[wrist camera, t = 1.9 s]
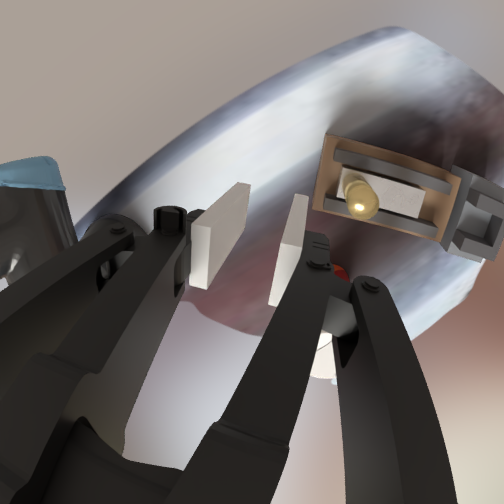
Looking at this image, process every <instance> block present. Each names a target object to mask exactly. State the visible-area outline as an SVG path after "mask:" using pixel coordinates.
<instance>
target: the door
mask: <svg viewBox="0 0 504 504" xmlns="http://www.w3.org/2000/svg"><path fill="white" fill-rule="evenodd" d="M341 165H345V166H349V167H353V168H357V169H361V170H365V171H368V172H372V173H376V174H379V175H383V176H386V177H390V178H393V179H396V180H400V181H403V182H406V183H409V184H412V185H416V186H419V187H421V188H422V189H423V190H425V191H426V193H425V196H424V199H423V203H422V206H421V209H420V212H419V215H418V218H414V217H411V216H407V215H404V214H400V213H397V212H393V211H390V210H386V209H382V208H379V209H378V211H377V213H376V214H375V215H374V216H373V217H372V218H370V219H366V220H360V219H357V218H355V217H354V216H352V215H351V213H350V212H349V210H348V207H347V203H346V200H345V199H343V198H339V197H336V188H337V183H338V179H339V174H340V170H341ZM460 182H461V178H460V177H458V176H456V175H454V174H452V173H451V172H449V171H447V170H445V169H443V168H440V167H438V166H435V165H432V164H430V163H427V162H424V161H421V160H418V159H415V158H412V157H409V156H406V155H403V154H400V153H397V152H394V151H391V150H387V149H384V148H380V147H377V146H373V145H370V144H366V143H363V142H359V141H355V140H351V139H347V138H343V137H339V136H335V135H330V134H326V133H325V137H324V142H323V148H322V153H321V158H320V163H319V168H318V173H317V178H316V183H315V188H314V192H313V203H312V209H313V210H317V211H322V212H326V213H331V214H335V215H339V216H343V217H347V218H352V219H356V220H360V221H364V222H368V223H372V224H376V225H379V226H383V227H387V228H391V229H395V230H398V231H402V232H406V233H409V234H413V235H416V236H420V237H423V238H427V239H430V240H434V241H437V242H441V239H442V237H443V234H444V231H445V229H446V226H447V223H448V220H449V217H450V214H451V211H452V208H453V205H454V202H455V199H456V196H457V192H458V189H459V185H460Z"/></svg>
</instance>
